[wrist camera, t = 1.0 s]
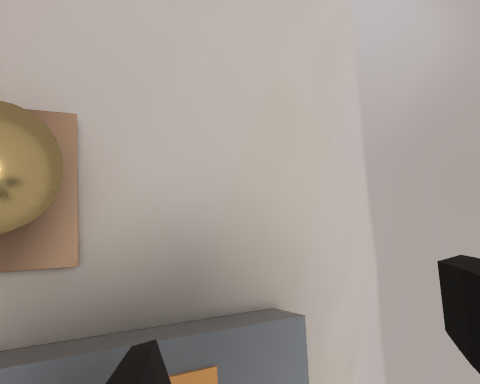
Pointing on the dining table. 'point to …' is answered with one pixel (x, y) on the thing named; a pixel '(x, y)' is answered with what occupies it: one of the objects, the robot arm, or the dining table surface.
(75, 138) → the tan flat square
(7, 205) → the brass peg
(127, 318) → the dining table surface
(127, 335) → the hole board
